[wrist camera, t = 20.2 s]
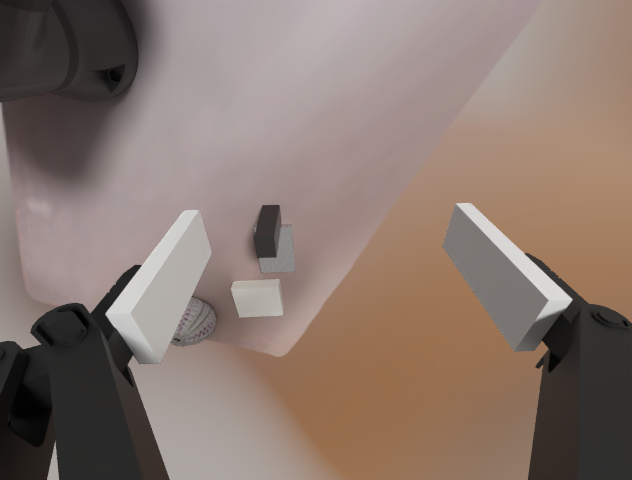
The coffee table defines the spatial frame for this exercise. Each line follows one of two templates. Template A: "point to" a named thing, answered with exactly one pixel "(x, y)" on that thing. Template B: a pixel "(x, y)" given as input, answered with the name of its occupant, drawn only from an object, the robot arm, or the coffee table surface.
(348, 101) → the coffee table surface
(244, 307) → the tile
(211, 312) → the sea urchin shell
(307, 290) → the coffee table surface
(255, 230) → the grey l-shaped block
